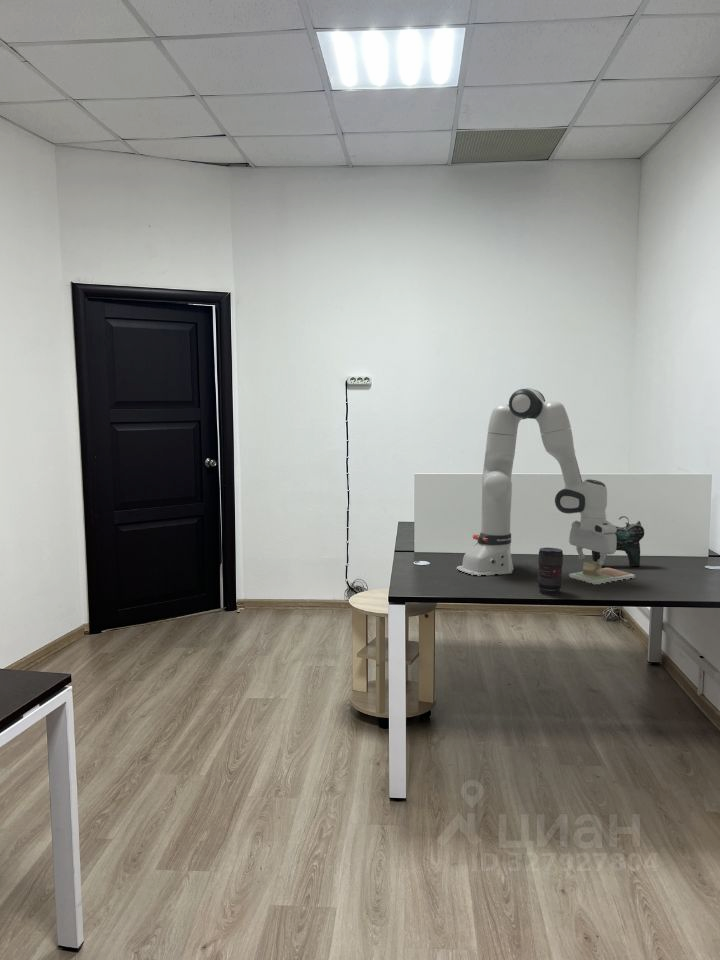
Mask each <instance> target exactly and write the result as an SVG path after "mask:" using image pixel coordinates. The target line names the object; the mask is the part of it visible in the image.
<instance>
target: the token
mask: <svg viewBox="0 0 720 960" xmlns="http://www.w3.org/2000/svg"><path fill="white" fill-rule="evenodd" d="M582 565H583V567H582V569H583V570H582V572H583V574H584V575H587V576H591V577H595V576H601V569H603V567H602V565H600V564H597V562H594V561H593V560H591V561H584V562H583V564H582Z"/></svg>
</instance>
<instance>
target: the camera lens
mask: <svg viewBox="0 0 720 960" xmlns="http://www.w3.org/2000/svg"><path fill="white" fill-rule="evenodd" d="M563 563H564V553H563V549H561V548H557V547H540V548H539V551H538V575H537V584H538V589H539V592H540V593H541V594H543V593H544V595H551V594H552V595H558V594H560V591H561V588H562V584H563V583H562V582H563V581H562V580H563V579H562V577H563V576H562V575H563Z"/></svg>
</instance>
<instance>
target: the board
mask: <svg viewBox="0 0 720 960" xmlns="http://www.w3.org/2000/svg"><path fill="white" fill-rule="evenodd" d="M568 576H569V578H572V579H574V578H575V580H578V581H581V580H582V582H584V581H585V583H589V584H591V583H592V584H591V585H595V586H596V584H597V585H602V584H601V583H603V584H607V583H606V582H609V583H612V582H611V581H615V582H618V581H617V580H621V581H624V580H623V579H626V580H631V579H630V578H632V579H636V574H633V573H629V572H626V571H623V570H620V569H615V568H611V567H604V568H603V567H602V568H601V576H595V577H591V576H587V575H584V574H583V571H578V572H572V573H569V574H568Z"/></svg>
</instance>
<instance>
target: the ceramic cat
mask: <svg viewBox="0 0 720 960" xmlns="http://www.w3.org/2000/svg"><path fill="white" fill-rule="evenodd" d="M622 518H625V519H627V522H625V524H626V525H625V526H623V527H621V526H616V525H615V526H616V528H617V531H616V532H615V535H616V538H617V546H616V551H621V552H625V554H626V556H627V558H628V565H629V567H631V566H639V567H640V565H641V544H640V541H641V540H642V539H643V538H644V536H645V529H644V527H643V526H642V524H641V521H640V520H637V522H636V523H630V521H629V520H630V519H629V518H628V517H627V516H624V515H623V516H620V517H619V518H618V521H619V520H622ZM591 556H592V561H594V562H597V559H600V557H601V555H600V552H596V551H593V550H591ZM602 566H603V567H604V564H603V565H602Z"/></svg>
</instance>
